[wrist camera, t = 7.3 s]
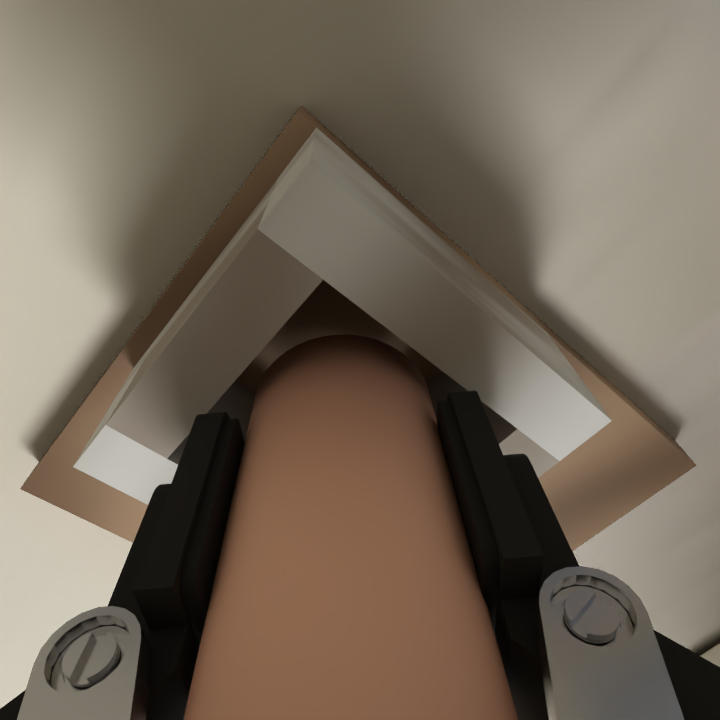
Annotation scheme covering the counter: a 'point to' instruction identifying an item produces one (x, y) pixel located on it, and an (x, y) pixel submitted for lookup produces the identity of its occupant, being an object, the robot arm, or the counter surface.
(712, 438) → the counter surface
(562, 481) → the socket board
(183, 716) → the robot arm
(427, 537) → the peg
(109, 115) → the counter surface
